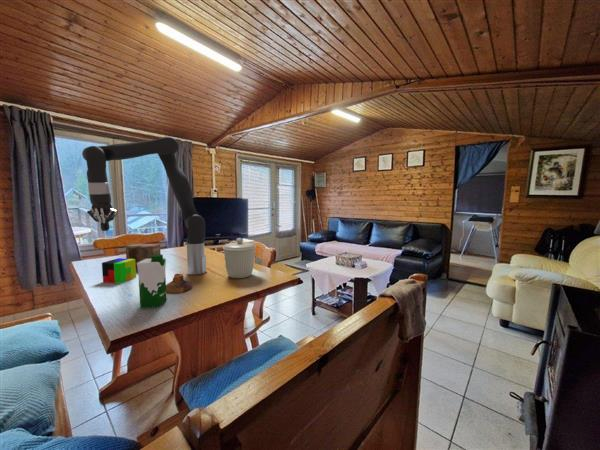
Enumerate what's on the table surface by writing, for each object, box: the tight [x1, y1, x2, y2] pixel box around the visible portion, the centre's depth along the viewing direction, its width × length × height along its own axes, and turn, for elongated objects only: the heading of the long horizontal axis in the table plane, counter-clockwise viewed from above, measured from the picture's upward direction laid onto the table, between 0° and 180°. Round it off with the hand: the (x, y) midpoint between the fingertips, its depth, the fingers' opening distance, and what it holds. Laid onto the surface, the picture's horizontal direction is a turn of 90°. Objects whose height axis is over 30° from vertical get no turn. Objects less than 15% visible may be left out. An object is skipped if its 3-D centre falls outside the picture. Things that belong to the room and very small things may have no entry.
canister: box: [222, 237, 257, 279], centre depth 143 cm, size 18×18×21 cm
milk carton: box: [136, 254, 168, 309], centre depth 104 cm, size 9×9×20 cm
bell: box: [166, 273, 193, 295], centre depth 122 cm, size 12×12×7 cm
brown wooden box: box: [125, 243, 161, 268], centre depth 155 cm, size 16×8×14 cm, turn 90°
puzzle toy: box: [101, 257, 137, 284], centre depth 134 cm, size 10×10×10 cm
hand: (105, 230), depth 120 cm, fingers closed
